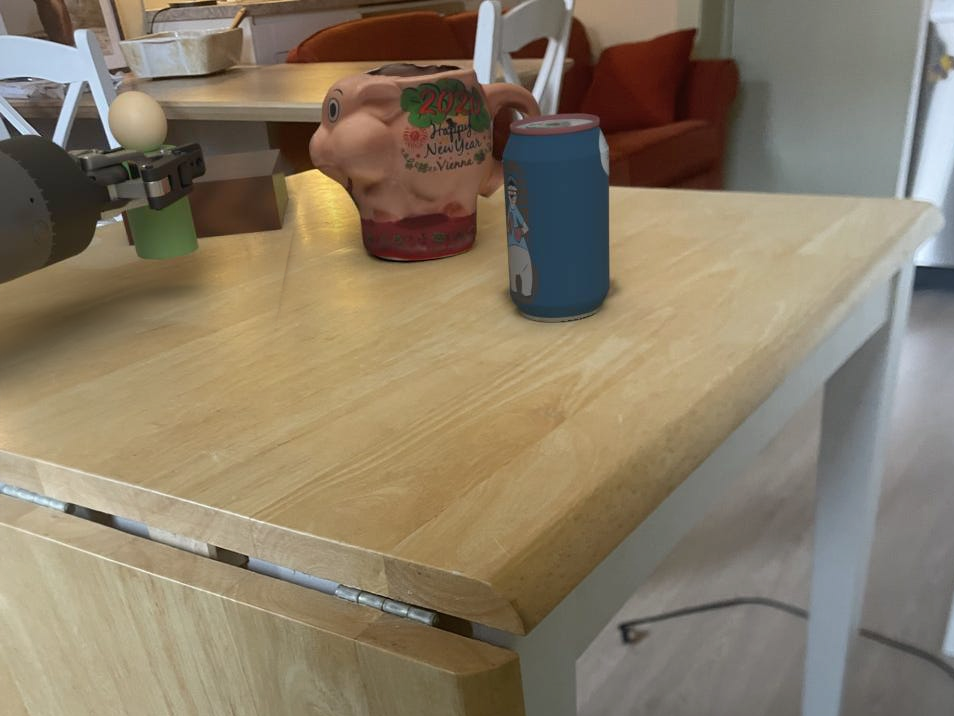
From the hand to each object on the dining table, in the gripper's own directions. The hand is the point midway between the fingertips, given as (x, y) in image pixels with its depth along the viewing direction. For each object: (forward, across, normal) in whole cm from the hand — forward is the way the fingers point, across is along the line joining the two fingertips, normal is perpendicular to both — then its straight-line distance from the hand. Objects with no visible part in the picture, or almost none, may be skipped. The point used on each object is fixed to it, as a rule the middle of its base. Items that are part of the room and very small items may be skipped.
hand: (170, 158), depth 75 cm
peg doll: (-3, 0, +6) cm, 7 cm away
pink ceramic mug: (+17, -13, +10) cm, 24 cm away
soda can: (+2, -30, +10) cm, 32 cm away
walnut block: (+19, +12, +10) cm, 25 cm away
